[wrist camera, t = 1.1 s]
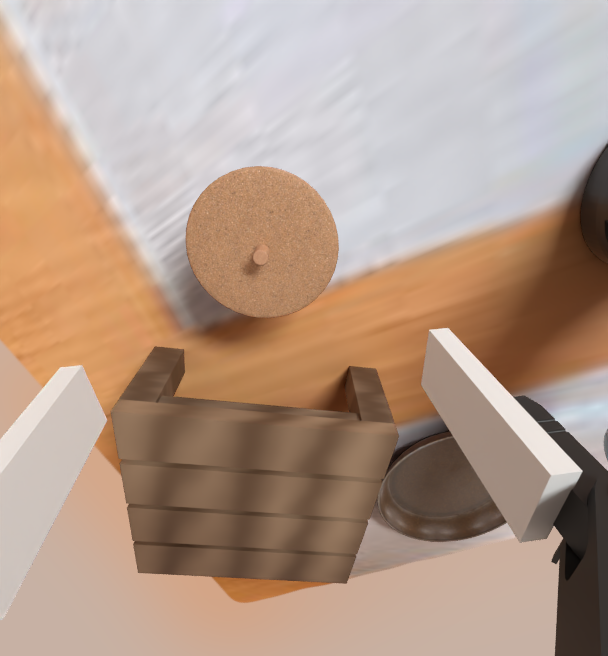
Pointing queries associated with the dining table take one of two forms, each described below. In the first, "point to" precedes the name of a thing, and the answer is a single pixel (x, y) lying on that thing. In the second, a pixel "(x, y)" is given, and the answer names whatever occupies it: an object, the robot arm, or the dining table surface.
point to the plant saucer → (437, 494)
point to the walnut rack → (249, 478)
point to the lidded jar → (262, 242)
